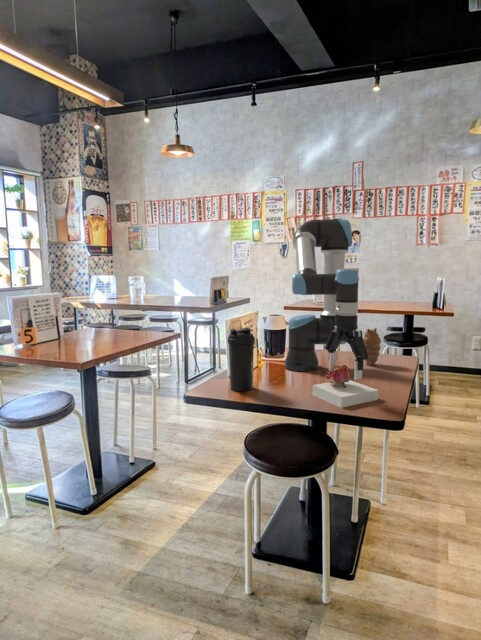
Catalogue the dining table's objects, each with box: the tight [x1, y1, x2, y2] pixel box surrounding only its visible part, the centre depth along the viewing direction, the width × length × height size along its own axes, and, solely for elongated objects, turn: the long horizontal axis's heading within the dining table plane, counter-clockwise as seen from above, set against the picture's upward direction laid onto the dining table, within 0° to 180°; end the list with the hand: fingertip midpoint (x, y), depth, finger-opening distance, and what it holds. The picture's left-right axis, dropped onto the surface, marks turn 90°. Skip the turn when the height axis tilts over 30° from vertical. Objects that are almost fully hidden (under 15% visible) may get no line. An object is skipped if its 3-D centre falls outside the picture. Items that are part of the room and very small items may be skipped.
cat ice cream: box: [363, 327, 382, 367], centre depth 201 cm, size 9×8×18 cm
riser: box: [312, 379, 379, 409], centre depth 159 cm, size 16×16×4 cm
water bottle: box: [227, 327, 256, 392], centre depth 172 cm, size 10×10×23 cm
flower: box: [324, 364, 352, 388], centre depth 160 cm, size 10×9×8 cm
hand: (344, 374), depth 158 cm, fingers open, 13 cm apart
